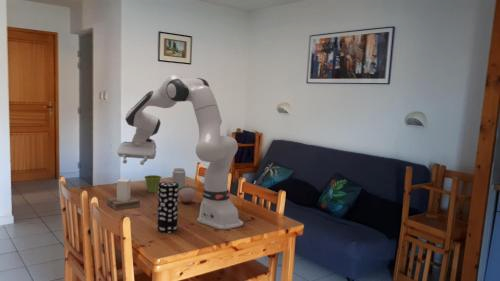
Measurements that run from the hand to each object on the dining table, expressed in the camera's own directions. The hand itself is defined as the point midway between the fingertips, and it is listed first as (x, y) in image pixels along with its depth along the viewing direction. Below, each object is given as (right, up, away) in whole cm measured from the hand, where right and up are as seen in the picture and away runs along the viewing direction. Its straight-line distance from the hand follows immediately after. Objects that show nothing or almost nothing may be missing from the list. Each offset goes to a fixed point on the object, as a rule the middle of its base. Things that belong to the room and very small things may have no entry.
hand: (133, 163), depth 213 cm
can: (+19, -17, +31) cm, 40 cm away
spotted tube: (+26, -26, -40) cm, 55 cm away
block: (-2, -18, -10) cm, 20 cm away
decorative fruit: (+29, -21, 0) cm, 36 cm away
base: (-2, -21, -10) cm, 23 cm away
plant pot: (+5, -18, +20) cm, 27 cm away
